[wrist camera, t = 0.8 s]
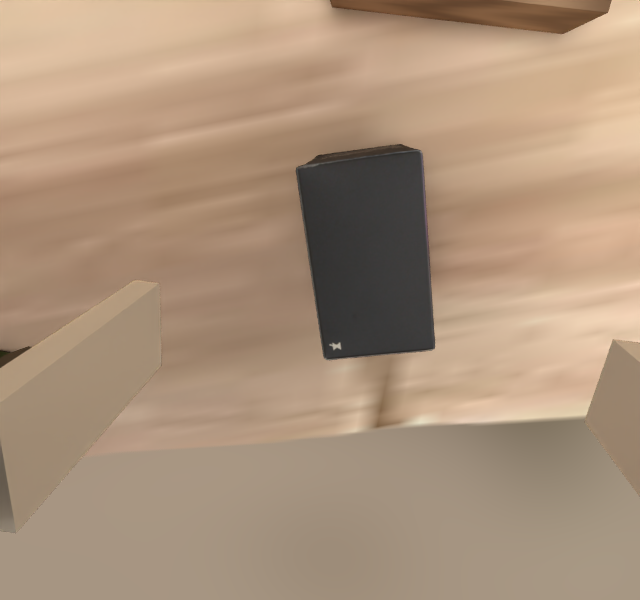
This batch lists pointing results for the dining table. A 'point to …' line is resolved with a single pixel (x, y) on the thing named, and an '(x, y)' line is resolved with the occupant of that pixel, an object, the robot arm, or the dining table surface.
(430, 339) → the small box
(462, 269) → the dining table surface
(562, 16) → the walnut block
